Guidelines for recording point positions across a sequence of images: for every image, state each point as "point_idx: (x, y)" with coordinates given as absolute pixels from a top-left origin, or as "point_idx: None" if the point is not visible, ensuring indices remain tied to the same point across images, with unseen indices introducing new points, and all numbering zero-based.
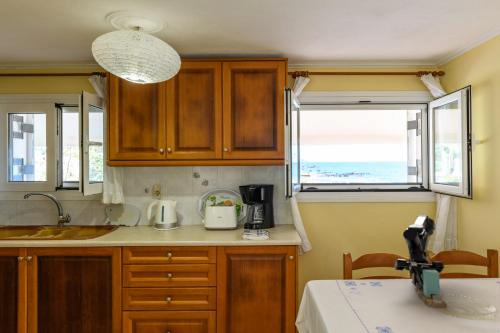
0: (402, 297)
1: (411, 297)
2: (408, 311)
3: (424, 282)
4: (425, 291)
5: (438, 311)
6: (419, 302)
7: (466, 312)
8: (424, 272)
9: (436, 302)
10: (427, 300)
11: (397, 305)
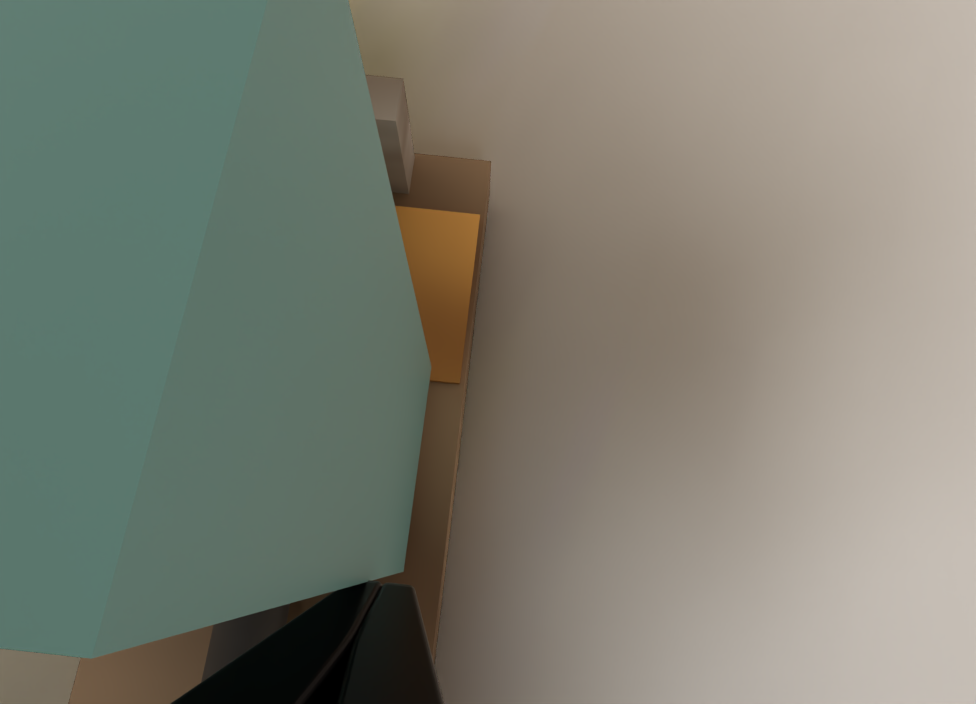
0: (788, 646)
1: (613, 658)
2: (817, 58)
3: (377, 414)
4: (413, 407)
5: (430, 72)
6: (557, 391)
7: None
8: (285, 139)
9: None
10: (475, 244)
11: (931, 247)
